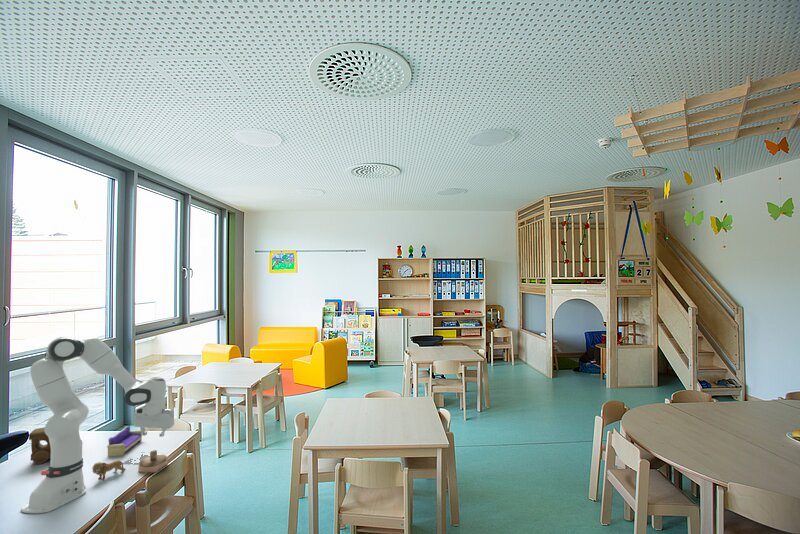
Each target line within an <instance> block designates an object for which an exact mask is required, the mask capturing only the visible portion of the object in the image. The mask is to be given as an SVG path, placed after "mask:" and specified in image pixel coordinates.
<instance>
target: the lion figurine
mask: <svg viewBox="0 0 800 534" xmlns="http://www.w3.org/2000/svg"><path fill="white" fill-rule="evenodd" d="M123 463H124V462H122V460H114V461H112V462H109V463H106V462H100V461H99V462H96V463H94V464H93V466H92V468H91V469H92V473H93V474H96V475H97V476H98V475H99V477H98V480H101V481H104V480H106V475H107V472H110V471H112V470H113V469H114V471H113V472H112V474H115V473H116V472H118V470H120V474H123V473H124V472H125V470H126V468H125V467H124V464H123Z"/></svg>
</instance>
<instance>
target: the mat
mask: <svg viewBox="0 0 800 534" xmlns="http://www.w3.org/2000/svg"><path fill="white" fill-rule="evenodd" d="M146 457H149V456H148V455H144V456H143V454H142V455H141V457H140V459H139V460H140V461H141V460H142V459H144V458H146ZM131 458H132V457H130V458H129V459H130V460H129V459H126V461H124V462H122V463H123V465H130V464H133V463H131V462H132V461H131V460H133V459H131ZM137 459H138V458H137ZM129 461H130V462H129ZM134 461H136V460H134ZM139 464H140V462H139V463H134V464H133V466H135V465H137V466H139Z"/></svg>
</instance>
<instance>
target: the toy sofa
mask: <svg viewBox="0 0 800 534" xmlns="http://www.w3.org/2000/svg"><path fill="white" fill-rule="evenodd" d="M142 438H143V436H142V431H141V429H139V430H131V427H130V426H129V425H126V426H125V427H124V428H122V429H121V430H120V431H119V432H117V433H116V434H115V435H113V436H110V437H109V438H108V445H107V446H106V448H107V457H112V456H113V457H114V456H115V457H116V456H125V454H126V453H125V452H127V451H128V450H129V449H130V448H132V447H133V446H134V445H136V444H137V443H139V442H138V441H141V442H142Z"/></svg>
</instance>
